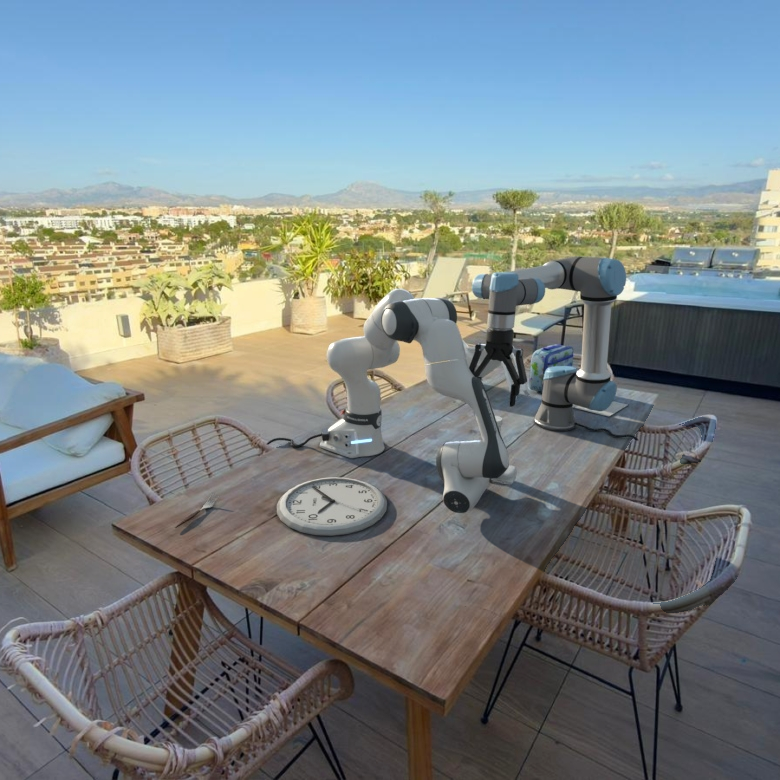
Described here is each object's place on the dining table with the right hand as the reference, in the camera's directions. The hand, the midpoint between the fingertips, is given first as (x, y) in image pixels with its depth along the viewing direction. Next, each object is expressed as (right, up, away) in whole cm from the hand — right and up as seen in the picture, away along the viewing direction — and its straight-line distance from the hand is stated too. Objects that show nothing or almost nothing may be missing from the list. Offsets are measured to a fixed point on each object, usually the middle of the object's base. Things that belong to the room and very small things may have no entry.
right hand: (494, 402), depth 155 cm
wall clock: (-47, -28, -12) cm, 56 cm away
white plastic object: (+11, +2, +88) cm, 89 cm away
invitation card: (+60, -4, +71) cm, 93 cm away
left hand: (-1, -17, +3) cm, 18 cm away
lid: (0, -5, +2) cm, 6 cm away
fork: (-82, -29, -18) cm, 89 cm away
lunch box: (+45, +4, +95) cm, 105 cm away
